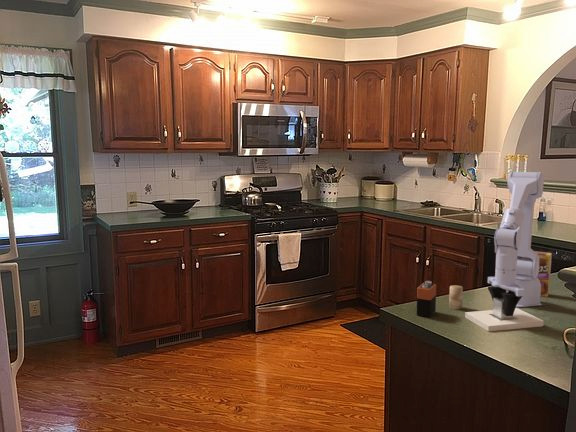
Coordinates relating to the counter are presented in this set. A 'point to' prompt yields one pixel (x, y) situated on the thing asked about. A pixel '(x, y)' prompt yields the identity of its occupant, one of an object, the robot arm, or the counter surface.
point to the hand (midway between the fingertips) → (503, 312)
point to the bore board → (494, 324)
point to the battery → (426, 299)
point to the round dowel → (455, 297)
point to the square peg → (500, 309)
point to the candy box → (544, 271)
